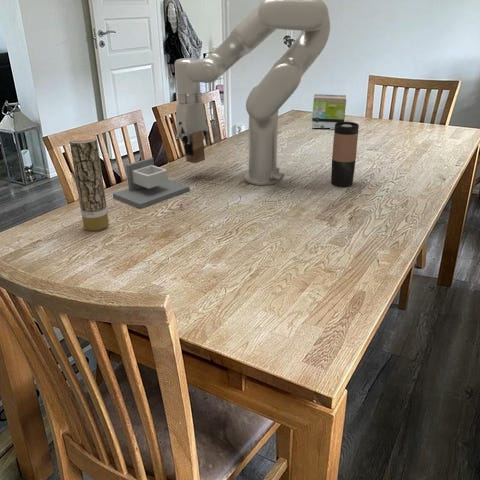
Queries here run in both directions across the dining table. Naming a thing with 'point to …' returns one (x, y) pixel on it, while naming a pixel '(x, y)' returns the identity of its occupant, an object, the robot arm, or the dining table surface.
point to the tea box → (328, 110)
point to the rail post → (196, 148)
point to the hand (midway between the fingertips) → (194, 152)
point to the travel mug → (344, 153)
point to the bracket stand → (148, 185)
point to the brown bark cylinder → (89, 181)
